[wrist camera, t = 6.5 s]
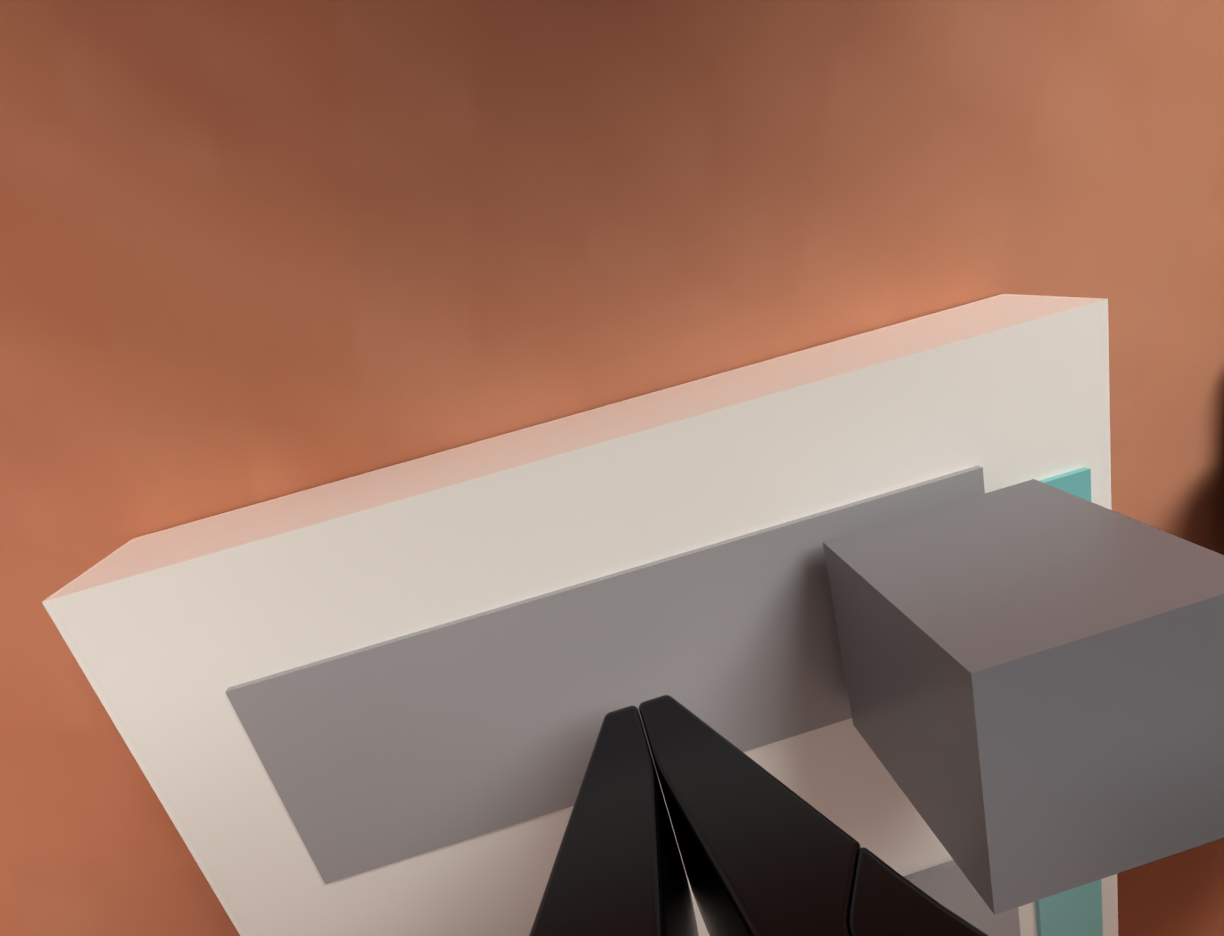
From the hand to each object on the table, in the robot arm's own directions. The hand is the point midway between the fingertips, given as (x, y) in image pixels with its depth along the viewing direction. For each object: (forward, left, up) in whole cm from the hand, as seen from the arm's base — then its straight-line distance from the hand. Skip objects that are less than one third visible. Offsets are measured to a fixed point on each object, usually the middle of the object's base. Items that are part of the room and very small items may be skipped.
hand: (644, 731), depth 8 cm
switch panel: (0, +4, -3) cm, 5 cm away
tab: (-4, 0, -1) cm, 4 cm away
